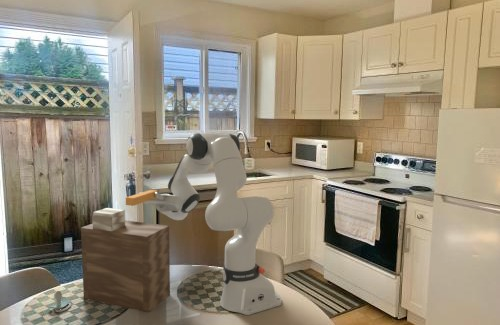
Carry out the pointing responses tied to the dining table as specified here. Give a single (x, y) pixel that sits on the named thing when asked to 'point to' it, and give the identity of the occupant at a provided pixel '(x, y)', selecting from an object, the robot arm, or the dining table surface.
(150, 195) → the plug
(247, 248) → the robot arm
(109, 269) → the shelf stand
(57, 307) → the pacifier
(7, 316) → the dining table surface
